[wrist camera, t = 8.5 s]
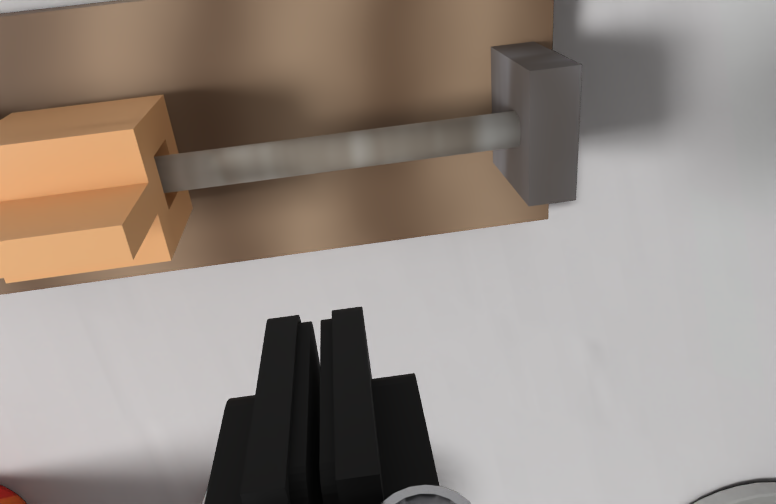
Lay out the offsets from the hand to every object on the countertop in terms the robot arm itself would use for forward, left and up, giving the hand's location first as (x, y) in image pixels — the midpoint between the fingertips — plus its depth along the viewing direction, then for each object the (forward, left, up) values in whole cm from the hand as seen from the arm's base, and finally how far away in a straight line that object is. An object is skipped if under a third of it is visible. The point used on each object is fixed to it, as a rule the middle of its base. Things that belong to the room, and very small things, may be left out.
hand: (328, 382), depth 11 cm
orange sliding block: (+7, -1, -13) cm, 15 cm away
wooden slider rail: (+3, -1, -16) cm, 16 cm away
